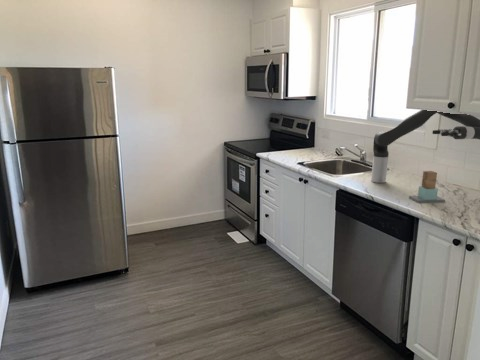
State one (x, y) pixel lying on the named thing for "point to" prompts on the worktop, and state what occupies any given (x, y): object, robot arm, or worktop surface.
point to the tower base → (426, 196)
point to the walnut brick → (429, 179)
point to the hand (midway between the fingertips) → (437, 133)
